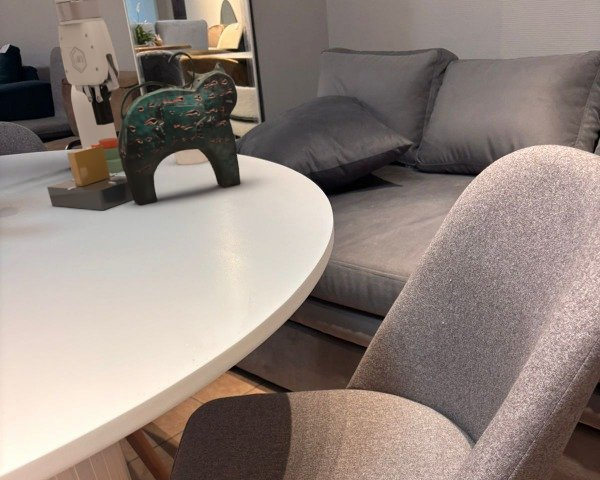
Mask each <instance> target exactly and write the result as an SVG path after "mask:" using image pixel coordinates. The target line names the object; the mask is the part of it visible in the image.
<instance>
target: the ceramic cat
mask: <svg viewBox="0 0 600 480" xmlns="http://www.w3.org/2000/svg"><path fill="white" fill-rule="evenodd" d="M178 56H186V57H187V58H188V59H189V60H190V62H191V65H192V71H189V70H188V71H187V75H188V76H189V77H190V80H189V81H188V82H186V83H185V84H183V85H174V84H169V83H164V82H160V81H147V82H143V83H140V84H137V85H135V86H132V88H130V89H128V90H127V91H126V92H125V94H124V95H123V98H122V100H121V104H120V108H119V109H120V111H119V119H121V122H120V126H119V127H120V128H119V132H118V136H117V140H118V151H119V156H120V159H121V164H122V167H123V173H124V176H126V179H127V181H128V184H129V187H130V190H131V193H132V196H133V201H134V203H136V204H137V205H139V206H141V205H147V204H152V203H156V202H157V201H158V196H157V193H156V191H157V190H156V187H155V173H156V171H157V169H158V167H159V166H160V164H161V163H162V162H163V161H164V160H165V159H166V158H168V157H169V156H171V155H174V153H176V152H179V151H184V150H193V149H198V150H200V151H201V152H202V153H203V154H204V155H205V156H206V158H207V159H208V162H209V164H210V166H211V168H212V171H213V174H214V176H215V180H216V185H218V186H219V187H221V188H228V187H230V186H238V185H241V175H240V173H241V172H240V164H239V157H238V151H237V150H238V149H237V143H236V139H235V135H234V134H235V133H234V130H233V129H234V128H233V126H232V123H231V119H230V117H231V114H232V112H234V109H235V108H236V106H237V103H238V92H237V91H238V90H237V86H236V82H235V81H234V79H233V78H232V77H231V76H230V75H229V74H227V73H226V71H225V68H224V66H223V64H222V63H221V62H219V61H217V62H216V63H215V66H214V68H213V70H211V71H209V72H205V73H197V72H196V69H195V64H194V60H193V58H192V56H190V54H188V53H186V52H183V51H177V52H174V53H173V54H171V56H170V58H169V59H168V64H169V65H171V64H172V61H173V60H174V59H175V58H176V57H178ZM151 85H152V86H153V85H157V86H161V88H159V89H157V90H154V91H151V92H147V93H145V94H142V95H140V96H138V97H136V98H135V99H134V100H133V101H132V102H130V104H128V106H127V107H126V108H125V111H124V105H125V102H126V101H127V100H128V98H129V96H130V95H131V94H132V93H133V92H135V91H137V90H139V89H141V88H144V87H146V86H151ZM188 86H189V87H188Z"/></svg>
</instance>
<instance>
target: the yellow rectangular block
mask: <svg viewBox="0 0 600 480" xmlns="http://www.w3.org/2000/svg"><path fill="white" fill-rule="evenodd" d="M66 155H67V158H68V162H69V166H70V170H71V173H72V179H74V181H75V185H76V186H85V185H88V184H91V183H94V182H98V181H101V180H104V179H107V178H110V175H111V173H109V170H108V166H107V161H106V157H105V153H104V148H103V145H101V144H93V145H91V147H87V148H80V149H76V150H72V151H69V152H67V153H66Z"/></svg>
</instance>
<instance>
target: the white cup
mask: <svg viewBox="0 0 600 480" xmlns="http://www.w3.org/2000/svg"><path fill="white" fill-rule="evenodd" d="M173 155H174V161H175V163H176V164H177V165H180V166H187V165H197V164H202V163H206V162H209V160H208V159H207V158H206V156H205V155H204V154H203V153H202V152H201V151H200V150H198V149H193V150H184V151H179V152H176V153H173Z"/></svg>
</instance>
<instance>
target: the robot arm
mask: <svg viewBox="0 0 600 480" xmlns="http://www.w3.org/2000/svg"><path fill="white" fill-rule="evenodd" d="M53 2H54V5H55V9H56V14H57V18H58V21H59V25H57V32H58V41H59V48H60V55H61V59H62V60H61V61H62V64H63V69H64V73H65V77H66V81H67V82H68V84H69V85H71V86H72V85H74V86H75V88H76V90H77V91H79V92H82V93H84V94H85V95H86V96H87V99H88V101H89V102H90V103H91V104H92V108H93V112H94V116H95V120H96V124H97V125H106V124H110V123H114V124H115V119H114V114H113V110H112V106H111V100H112V93H113V92H114V91H116V90H119V89H120V84H119V80H118V79H119V78H120V68H119V65H118V60H117V57H116V52H115V48H114V45H113V41H112V39H111V35H110V33H109V30H108V26H107V25H106V22H105V20H103V16H102V10H101V7H100V2H99V0H53ZM101 87H102V88H101Z"/></svg>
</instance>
